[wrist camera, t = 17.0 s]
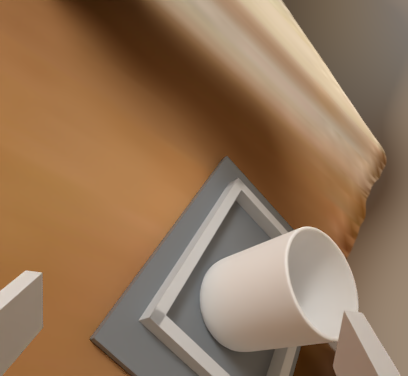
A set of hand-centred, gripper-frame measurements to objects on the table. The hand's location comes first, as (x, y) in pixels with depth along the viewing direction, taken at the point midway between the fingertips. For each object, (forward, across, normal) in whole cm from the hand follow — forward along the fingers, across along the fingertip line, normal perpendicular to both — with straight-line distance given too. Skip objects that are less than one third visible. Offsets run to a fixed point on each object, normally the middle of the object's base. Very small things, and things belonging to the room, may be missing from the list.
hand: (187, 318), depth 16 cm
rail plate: (+19, +3, -8) cm, 21 cm away
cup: (+18, +4, -9) cm, 20 cm away
